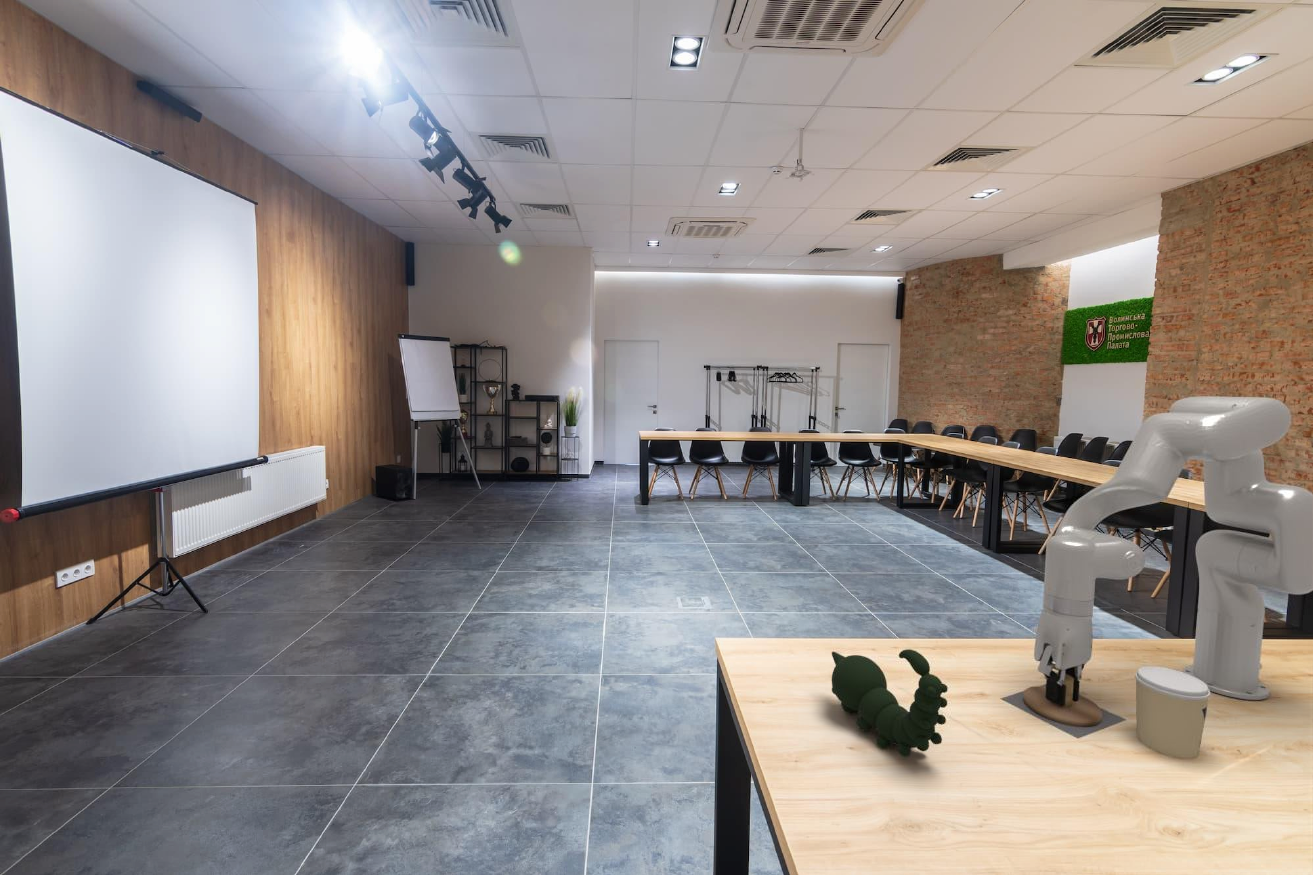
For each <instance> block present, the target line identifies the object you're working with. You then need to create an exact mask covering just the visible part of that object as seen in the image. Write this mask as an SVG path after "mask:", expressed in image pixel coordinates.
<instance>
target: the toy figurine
mask: <svg viewBox="0 0 1313 875" xmlns="http://www.w3.org/2000/svg"><path fill="white" fill-rule="evenodd" d="M831 657H832V659H833V661H834V665H835V666H834V669H833V671H832V674H831V692H832V693H833V694H832V695H835V696H836V698H837V699H838V700H839V702H840V706H841V708H842V710H843V711H844V712H846V713H847V714H850V715H853V714H858V713H859V717H857V720H856V725H857V727H858V729H859V730H860V731H862V732H864V733H867V732H869V731H871V729H872V728H874V729H876V731H877V732H878V735H877V736H876V739H875V741H876V743H877V745H878V747H879V748H883V749H886V748H888V747H889V745H890V744H893V745H896V746H897V747H896V748H897V753H898V754H899V755H900V756H902V757H906V758H907V757H908V756H910V755H911V752H912V749H917V750H918V751H920V752H927V751H928V750H929V748H930V742H931V743H932V744H933V745H940V744H942V742H943V738H942V735H941V734H940V733H939V732H937V731H936V725H937V724H938V725H944V724H946V722H947V719H946V716H944V715H943V714H940V713H939V710H940V708H943V709H944V708H946V707H947V706H948V700H947V699H946V697H943V696H941V695H943V694H944V693H947V692H948V686H947V685H946V684H945V683H942V680H941V679H940V678H939V677H938V676H936V675H934V674H931V673H930V671H931V669H930V668H931V666H930V663H929V662H928V660H927V659H926V658H925V656H923V654H921V653H920V652H918V651H916V650H914V649H910V648H909V649H907V648H906V649H903V650H902V651H900V652H899V654H898V657H899V659H905V660H906V661H907V662H908V663H909V665H910V666H911V668H912V669H913V670H914V672H915V673H916V674H917V675H918V676H920V678H919V680H918V688H917V689H916V690H915V691H914V694H913V697H914V698H913V700H914V701H913V702H912V703H911V704H910V706H909V711H908V710H907V709H906V708H905V707H903V706H901V705H899V702H898V699H897V698H896V696H895V695H894V693H892V691H889V690H888V682H887V678H886V675H885V673H884V672H883V670H882V669H881V668H880V666H879V665H878V664H877V663H876V662H875V661H873V660H872V659H871V658H868V657H866V656H863V655H860V654H855V655H854V654H853V655H852V654H851V655H847V656H844V655H842V654H840V653H838V652H836V651H831ZM929 741H930V742H929Z"/></svg>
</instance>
